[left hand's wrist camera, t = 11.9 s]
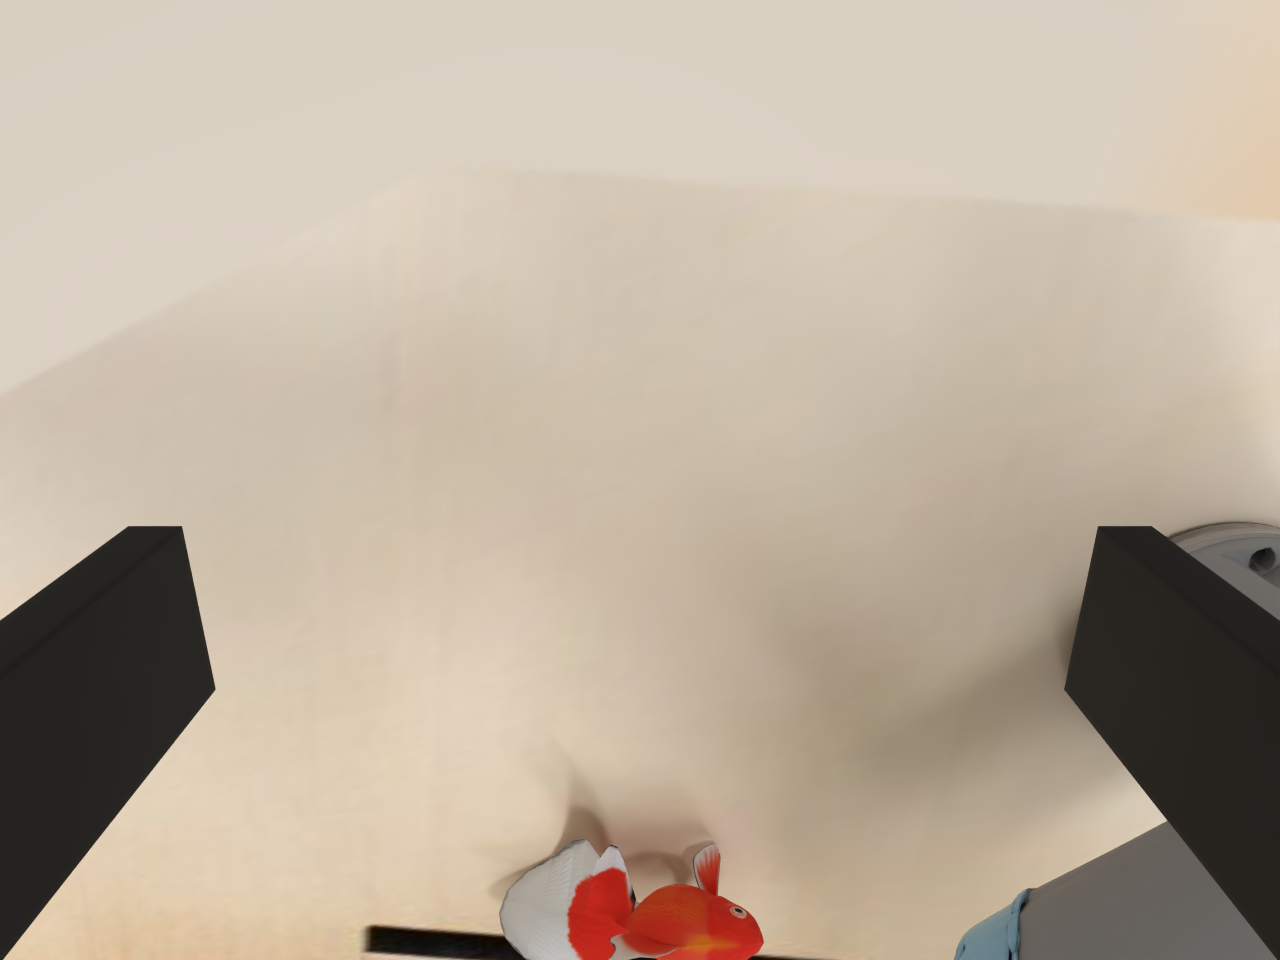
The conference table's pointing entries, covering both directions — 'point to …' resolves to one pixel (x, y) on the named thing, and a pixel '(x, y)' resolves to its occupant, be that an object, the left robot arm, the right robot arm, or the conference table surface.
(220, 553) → the conference table surface
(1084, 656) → the left robot arm
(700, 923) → the fish
